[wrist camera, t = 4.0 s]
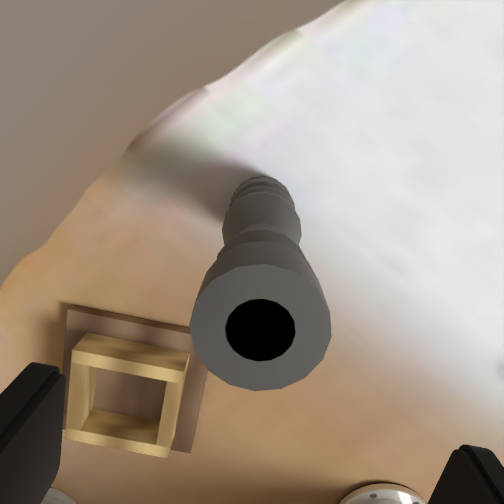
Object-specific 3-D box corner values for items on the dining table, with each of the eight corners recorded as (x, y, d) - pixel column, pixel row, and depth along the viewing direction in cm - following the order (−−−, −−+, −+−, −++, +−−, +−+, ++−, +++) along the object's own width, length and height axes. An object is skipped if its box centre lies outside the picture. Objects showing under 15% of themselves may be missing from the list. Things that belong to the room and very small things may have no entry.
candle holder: (305, 211, 40) (370, 339, 16) (258, 249, 41) (252, 421, 17) (265, 163, 38) (270, 223, 14) (218, 203, 40) (150, 322, 16)
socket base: (215, 333, 44) (210, 357, 40) (192, 445, 49) (184, 477, 44) (72, 304, 43) (50, 325, 39) (63, 421, 48) (42, 451, 44)
